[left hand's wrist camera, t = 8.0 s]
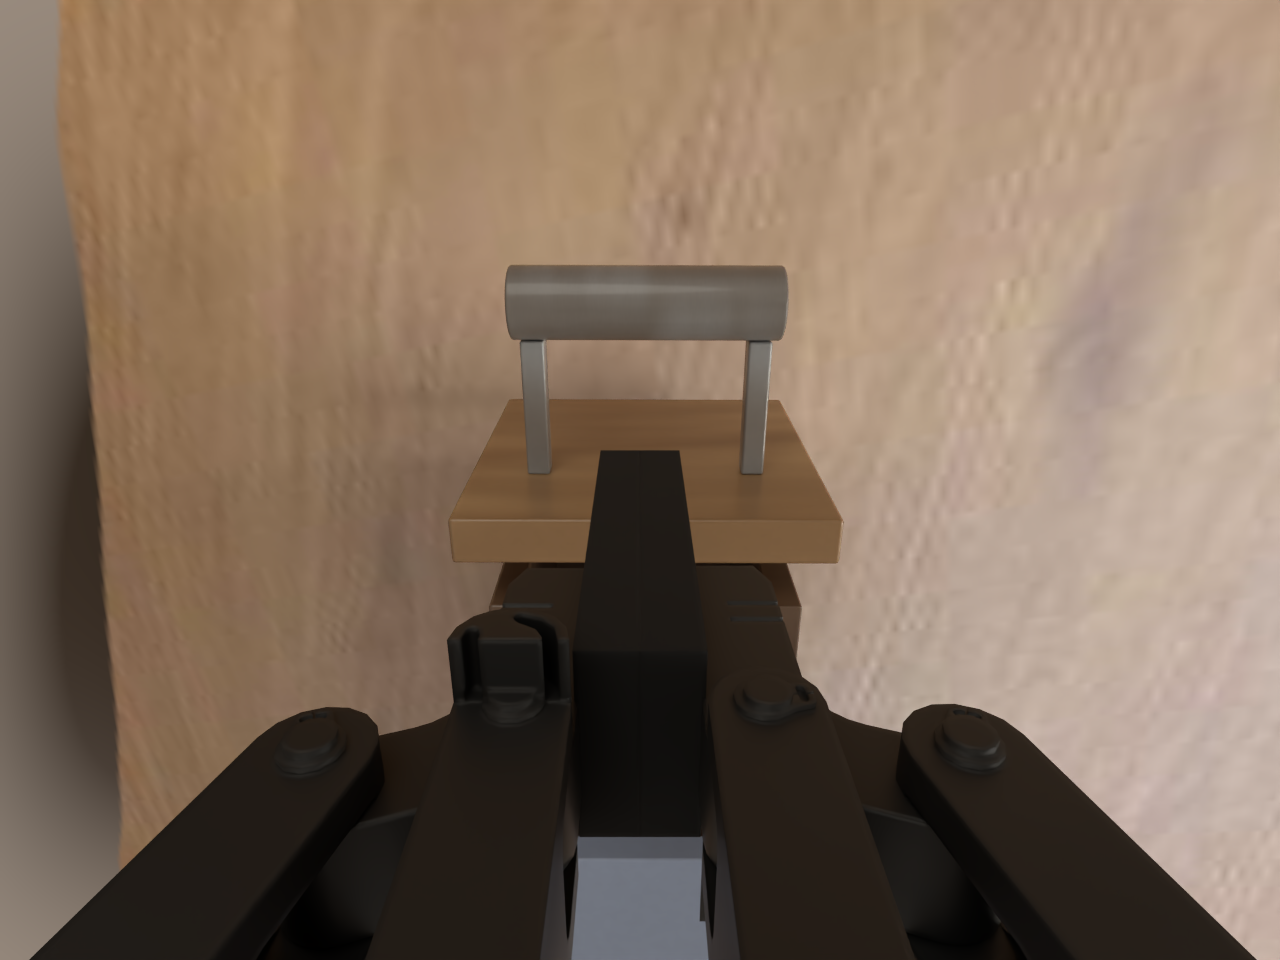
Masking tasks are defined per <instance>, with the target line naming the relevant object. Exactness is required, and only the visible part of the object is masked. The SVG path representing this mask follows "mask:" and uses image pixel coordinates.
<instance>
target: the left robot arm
mask: <svg viewBox="0 0 1280 960" xmlns="http://www.w3.org/2000/svg"><path fill="white" fill-rule="evenodd" d="M447 644H448V653H449V662H450V671H451V680H452V689H453V699H454V704H453V707H452V709H451V712H450V714H449V715H447V716H445V717H443V718H441V719H438V720H436V721H434V722H432V723H429V724H425V725H422V726H419V727H415V728H411V729H407V730H402V731H398V732H394V733H389V734H385V735H380V736H379V734H378V728H377V725H376V724H375V723H374V722H373V721H372V719H371V718H370V717H369V716H368V715H367V714H365V713H362V712H359V711H356V710H354V709H351V708H337V707H325V708H320V709H315V710H311V711H306V712H301V713H299V714H297V715H294V716H292V717H290V718H287V719H285V720H283V721H281V722H278V723H277V724H275V725H274V726H273V727H271V728H270V729H268V730H267V731H266V732H264V733H263V734H262V735H260V736H259V737H258V738H257V739H256V740H254V741H253V742H252V743H251V744H250V745H249V746H248V747H247V748H246V749H245V750H244V751H243V752H242V753H241V754H240V755H239V756H238V757H237V758H236V759H235V760H234V761H233V762H232V763H231V764H230V765H229V766H228V767H227V768H226V769H225V770H224V771H223V772H222V773H221V774H220V775H219V776H218V777H216V778H215V779H214V780H213V781H212V782H211V783H210V784H209V785H208V786H207V787H206V788H205V789H204V790H203V791H202V792H201V793H200V794H199V795H198V796H197V797H196V798H195V799H194V800H193V801H192V802H191V803H190V804H189V805H188V806H187V807H186V808H185V809H184V810H183V811H182V812H181V813H180V814H178V815H177V816H176V817H175V818H174V819H173V820H172V821H171V822H170V823H169V824H168V825H167V826H166V827H165V828H164V829H163V830H162V831H161V832H160V833H159V834H158V835H157V836H156V837H155V838H154V839H153V840H152V841H151V842H150V843H149V844H148V845H147V846H146V847H145V848H144V849H143V850H142V851H140V852H139V853H138V854H137V855H136V856H135V857H134V858H133V859H132V860H131V861H130V862H129V863H128V864H127V865H126V866H125V867H124V868H123V869H122V870H121V871H120V872H119V873H118V874H117V875H116V876H115V877H114V878H113V879H112V880H111V881H110V882H109V883H108V884H107V885H106V886H105V887H104V888H102V889H101V890H100V891H99V892H98V893H97V894H96V895H95V896H94V897H93V898H92V899H91V900H90V901H89V902H88V903H87V904H86V905H85V906H84V907H83V908H82V909H81V910H80V911H79V912H78V913H77V914H76V915H75V916H74V917H73V918H72V919H71V920H70V921H69V922H68V923H67V924H66V925H64V926H63V928H61V929H60V930H59V931H58V932H57V933H56V934H55V935H54V936H53V937H52V938H51V939H50V940H49V941H48V942H47V943H46V944H45V945H44V946H43V947H42V948H41V949H40V950H39V951H38V952H37V953H36V954H35V955H34V956H33V957H32V958H31V959H30V960H572V948H573V936H574V924H575V912H576V900H577V888H578V876H579V872H578V848H577V841H578V830H579V837H700V836H701V827H702V837H703V848H702V872H701V897H700V921H705V923H706V935H707V947H708V959H709V960H1256V959H1255V958H1254V957H1253V956H1252V955H1251V954H1250V953H1249V952H1248V951H1247V950H1246V949H1245V948H1244V947H1243V946H1242V945H1241V944H1240V943H1239V942H1238V941H1237V940H1236V939H1235V938H1234V937H1233V936H1231V935H1230V934H1229V933H1228V932H1227V931H1226V930H1225V929H1224V928H1223V927H1222V926H1221V925H1220V924H1219V923H1218V922H1217V921H1216V920H1215V919H1214V918H1213V917H1212V916H1211V915H1210V914H1209V913H1208V912H1207V911H1206V910H1205V909H1204V908H1203V907H1201V906H1200V905H1199V904H1198V903H1197V902H1196V901H1195V900H1194V899H1193V898H1192V897H1191V896H1190V895H1189V894H1188V893H1187V892H1186V891H1185V890H1184V889H1183V888H1182V887H1181V886H1180V885H1179V884H1178V883H1177V882H1176V881H1175V880H1174V879H1173V878H1171V877H1170V876H1169V875H1168V874H1167V873H1166V872H1165V871H1164V870H1163V869H1162V868H1161V867H1160V866H1159V865H1158V864H1157V863H1156V862H1155V861H1154V860H1153V859H1152V858H1151V857H1150V856H1149V855H1148V854H1147V853H1146V852H1145V851H1144V850H1143V849H1141V848H1140V847H1139V846H1138V845H1137V844H1136V843H1135V842H1134V841H1133V840H1132V839H1131V838H1130V837H1129V836H1128V835H1127V834H1126V833H1125V832H1124V831H1123V830H1122V829H1121V828H1120V827H1119V826H1118V825H1117V824H1116V823H1115V822H1114V821H1113V820H1111V819H1110V818H1109V817H1108V816H1107V815H1106V814H1105V813H1104V812H1103V811H1102V810H1101V809H1100V808H1099V807H1098V806H1097V805H1096V804H1095V803H1094V802H1093V801H1092V800H1091V799H1090V798H1089V797H1088V796H1087V795H1086V794H1085V793H1084V792H1083V791H1081V790H1080V789H1079V788H1078V787H1077V786H1076V785H1075V784H1074V783H1073V782H1072V781H1071V780H1070V779H1069V778H1068V777H1067V776H1066V775H1065V774H1064V773H1063V772H1062V771H1061V770H1060V769H1059V768H1058V767H1057V766H1056V765H1055V764H1054V763H1053V762H1051V761H1050V760H1049V759H1048V758H1047V757H1046V756H1045V755H1044V754H1043V753H1042V752H1041V751H1040V750H1039V749H1038V748H1037V747H1036V746H1035V745H1034V744H1033V743H1032V742H1031V741H1030V740H1029V739H1028V738H1027V737H1026V736H1025V735H1024V734H1022V733H1021V732H1020V731H1018V730H1017V729H1015V728H1014V727H1013V726H1011V725H1010V724H1009V723H1007V722H1006V721H1005V720H1003V719H1001V718H998V717H996V716H994V715H992V714H989V713H987V712H985V711H982V710H980V709H976V708H971V707H966V706H962V705H957V704H935V705H929V706H926V707H923V708H921V709H918V710H915V711H913V712H912V713H911V715H910V716H909V717H908V718H907V719H906V720H905V721H904V722H903V728H902V733H901V732H896V731H892V730H887V729H883V728H878V727H874V726H869V725H865V724H862V723H858V722H855V721H852V720H848V719H846V718H844V717H842V716H840V715H838V714H836V713H833V712H831V711H830V710H829V708H828V705H827V703H826V701H825V699H824V698H823V696H822V694H821V693H820V691H819V690H818V688H817V687H816V686H814V685H813V684H811V683H810V682H808V681H807V680H806V679H804V678H803V677H802V676H801V673H800V669H799V666H798V663H797V660H796V657H795V654H794V651H793V648H792V644H791V641H790V638H789V635H788V632H787V629H786V626H785V622H783V616H782V613H781V610H780V607H779V605H778V601H777V597H776V594H775V591H774V588H773V585H772V582H771V581H770V580H769V579H767V578H766V577H765V576H764V575H763V574H762V573H761V572H760V571H758V570H757V569H756V568H755V567H754V566H696V564H695V557H694V550H693V543H692V536H691V529H690V522H689V515H688V507H687V500H686V493H685V486H684V479H683V472H682V465H681V458H680V451H679V450H601V451H600V458H599V465H598V472H597V479H596V486H595V493H594V500H593V507H592V514H591V522H590V529H589V536H588V543H587V550H586V557H585V564H584V568H527V569H525V570H524V571H523V572H522V573H521V574H520V575H519V576H518V577H517V578H515V579H514V580H513V581H512V582H511V583H510V584H509V585H508V588H507V591H506V594H505V597H504V601H503V604H502V608H501V609H499V610H493V611H490V612H486V613H483V614H480V615H477V616H474V617H472V618H470V619H469V620H467V621H466V622H464V623H462V624H461V625H459V626H458V627H456V629H455V630H454V631H453V633H452V634H451V635H450V637H449V638H448V639H447Z"/></svg>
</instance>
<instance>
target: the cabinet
mask: <svg viewBox="0 0 1280 960" xmlns="http://www.w3.org/2000/svg"><path fill="white" fill-rule="evenodd" d="M577 848H578V872H579V876H578V888H577V900H576V912H575V924H574V936H573V948H572V960H709V959H708V947H707V935H706V923H705V921H700V897H701V872H702V848H703V837H702V836H700V837H579V836H578V841H577Z"/></svg>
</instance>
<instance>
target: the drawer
mask: <svg viewBox="0 0 1280 960" xmlns="http://www.w3.org/2000/svg"><path fill="white" fill-rule="evenodd" d="M788 297H789V293H788V278H787V273H786V269H785V267H783V266H699V265H510V266H509V267H508V269H507V273H506V280H505V313H506V322H507V328H508V332H509V335H510V337H511V339H513V340H521V342H520V355H521V371H522V387H523V399H511V400H509V402H508V404H507V406H506V408H505V409H504V411H503V413H502V415H501V417H500V419H499V421H498V423H497V425H496V427H495V429H494V431H493V433H492V435H491V437H490V439H489V441H488V443H487V445H486V447H485V449H484V451H483V453H482V455H481V457H480V459H479V461H478V463H477V465H476V467H475V469H474V471H473V473H472V475H471V477H470V479H469V481H468V483H467V485H466V486H465V488H464V490H463V492H462V494H461V496H460V498H459V500H458V502H457V504H456V506H455V508H454V510H453V512H452V514H451V516H450V518H449V521H448V523H449V532H450V541H451V550H452V559H453V561H454V562H504V563H503V566H502V569H501V572H500V575H499V579H498V582H497V585H496V588H495V591H494V594H493V597H492V600H491V603H490V606H489V609H490V611H493V610H499V609H501V608H502V604H503V601H504V597H505V594H506V591H507V588H508V585H509V584H510V583H511V582H512V581H513V580H514V579H515V578H517V577H518V576H519V575H520V574H521V573H522V572H523V571H524V570H525V569H527V568H584V564H585V557H586V550H587V543H588V536H589V529H590V522H591V514H592V507H593V500H594V493H595V486H596V479H597V472H598V465H599V458H600V451H601V450H679V451H680V458H681V465H682V472H683V479H684V486H685V493H686V500H687V507H688V515H689V522H690V529H691V536H692V543H693V550H694V557H695V564H696V566H754V567H755V568H756V569H757V570H758V571H760V572H761V573H762V574H763V575H764V576H765V577H766V578H767V579H769V580H770V581H771V582H772V585H773V588H774V591H775V594H776V597H777V601H778V605H779V607H780V610H781V613H782V616H783V622H785V626H786V629H787V632H788V635H789V638H790V641H791V644H792V648H793V651H794V654H795V657H796V658H797V649H798V639H799V629H800V620H801V610H802V607H801V604H800V601H799V598H798V595H797V592H796V589H795V586H794V583H793V580H792V577H791V574H790V571H789V569H788V566H787V563H838V561H839V556H840V548H841V540H842V532H843V523H844V522H843V519H842V518H841V516H840V514H839V512H838V510H837V508H836V506H835V504H834V502H833V501H832V499H831V497H830V495H829V493H828V491H827V489H826V487H825V485H824V484H823V482H822V480H821V478H820V476H819V474H818V472H817V470H816V468H815V467H814V465H813V463H812V461H811V459H810V457H809V455H808V453H807V451H806V449H805V448H804V446H803V444H802V442H801V440H800V438H799V436H798V434H797V432H796V431H795V429H794V427H793V425H792V423H791V421H790V419H789V417H788V415H787V414H786V412H785V410H784V408H783V406H782V404H781V402H780V401H779V400H768V398H769V385H770V371H771V357H772V342H771V341H779V340H781V339H782V337H783V335H784V332H785V328H786V322H787V315H788ZM546 340H746V351H745V368H744V385H743V400H550V399H549V390H548V369H547V348H546ZM578 836H579V830H578ZM701 836H702V827H701Z"/></svg>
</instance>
